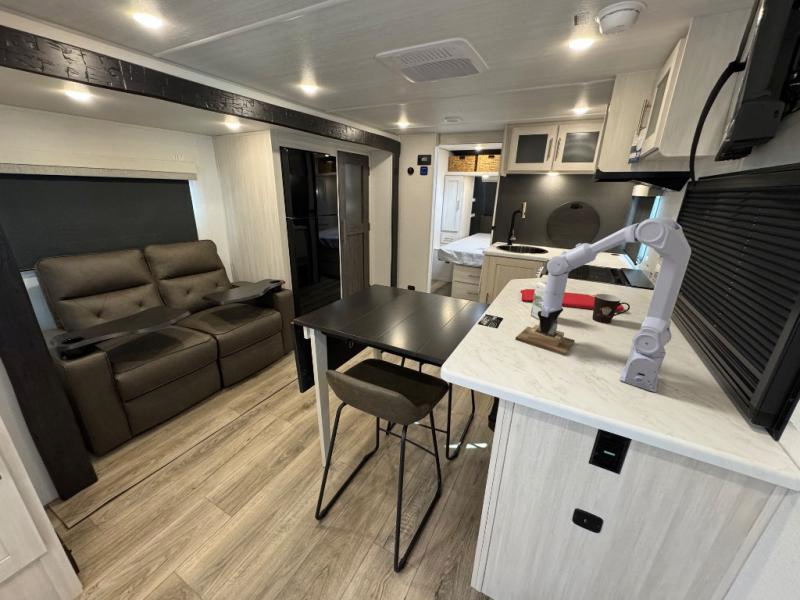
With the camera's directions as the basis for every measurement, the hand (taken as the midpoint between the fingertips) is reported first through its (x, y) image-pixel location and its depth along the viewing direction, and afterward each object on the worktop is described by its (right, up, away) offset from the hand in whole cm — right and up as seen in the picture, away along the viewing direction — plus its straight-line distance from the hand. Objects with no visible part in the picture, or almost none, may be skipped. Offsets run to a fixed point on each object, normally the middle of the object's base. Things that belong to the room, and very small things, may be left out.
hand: (546, 329), depth 105 cm
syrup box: (+8, +3, +21) cm, 23 cm away
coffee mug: (+33, +1, +19) cm, 38 cm away
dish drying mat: (+29, +9, +40) cm, 50 cm away
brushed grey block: (0, -3, +1) cm, 3 cm away
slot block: (0, -4, +2) cm, 4 cm away
